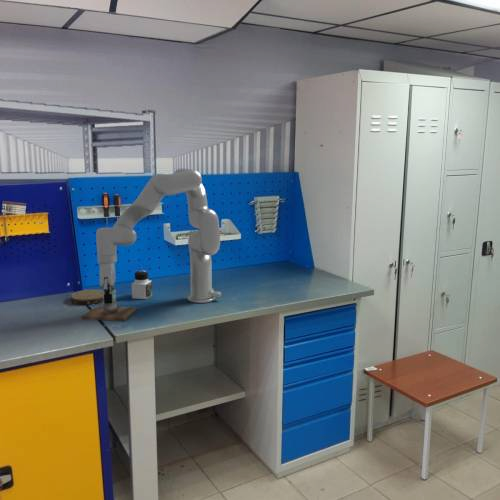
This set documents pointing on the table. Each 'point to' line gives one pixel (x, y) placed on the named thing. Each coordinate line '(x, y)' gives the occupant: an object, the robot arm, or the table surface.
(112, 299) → the cap
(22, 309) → the table surface
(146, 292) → the medicine bottle
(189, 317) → the table surface
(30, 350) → the table surface
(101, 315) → the stud board
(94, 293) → the wood slice
